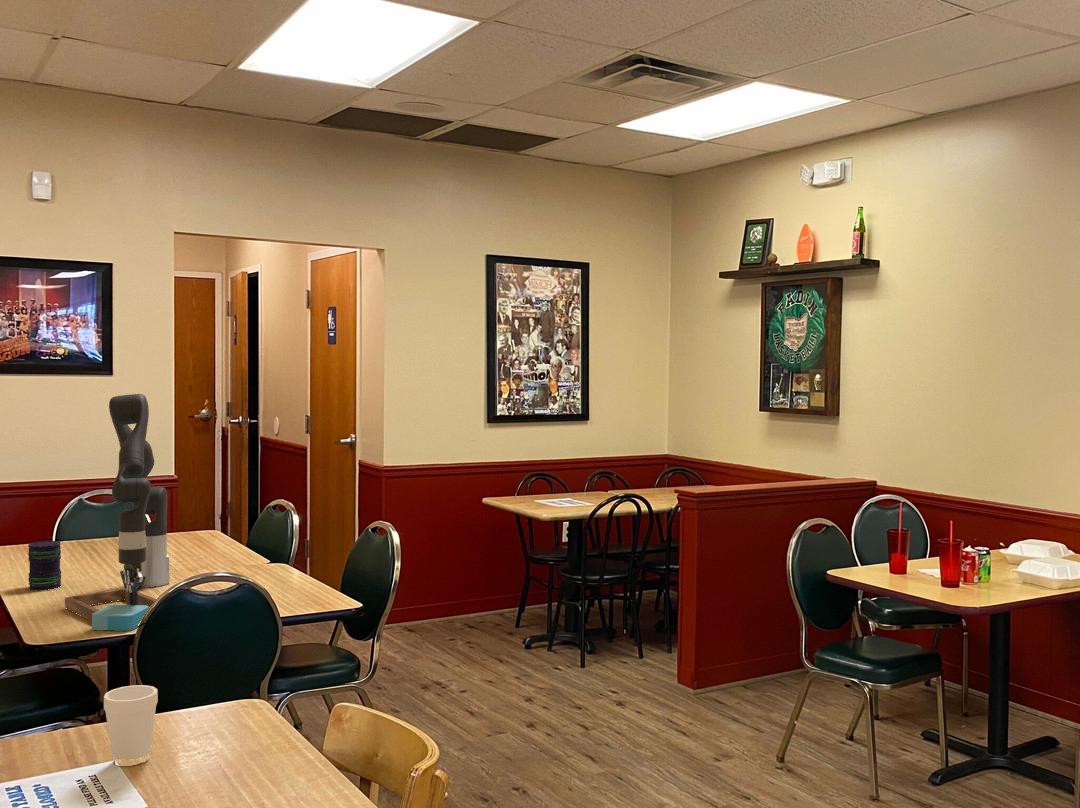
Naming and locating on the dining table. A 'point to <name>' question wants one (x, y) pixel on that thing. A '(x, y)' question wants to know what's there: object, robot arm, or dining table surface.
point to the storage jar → (44, 565)
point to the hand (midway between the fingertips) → (133, 604)
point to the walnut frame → (101, 601)
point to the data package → (118, 617)
